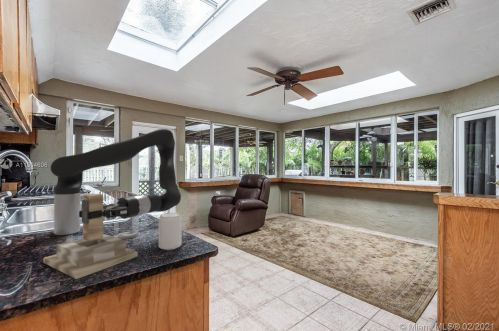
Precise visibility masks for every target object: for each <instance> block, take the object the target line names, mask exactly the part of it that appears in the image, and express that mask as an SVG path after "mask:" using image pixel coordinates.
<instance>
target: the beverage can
mask: <svg viewBox="0 0 499 331" xmlns="http://www.w3.org/2000/svg"><path fill="white" fill-rule="evenodd" d="M182 221H183V219H182V216H181V213H179V212H165V213H161V214H160V215H159V218H158V248H160V249H161V250H166V251H171V250H176V249H178V248H180V247H181V246H182V241H183V240H182V238H183V237H182V234H183V233H182V228H183V227H182V224H183V223H182Z"/></svg>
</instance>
